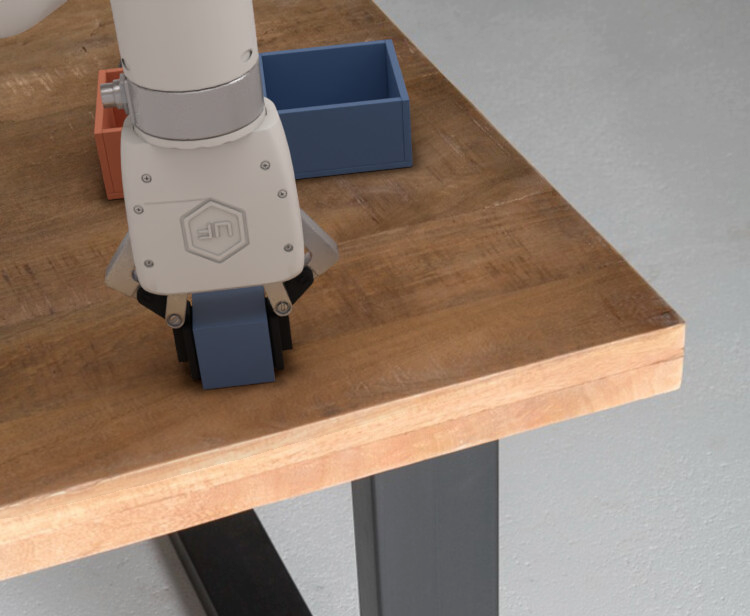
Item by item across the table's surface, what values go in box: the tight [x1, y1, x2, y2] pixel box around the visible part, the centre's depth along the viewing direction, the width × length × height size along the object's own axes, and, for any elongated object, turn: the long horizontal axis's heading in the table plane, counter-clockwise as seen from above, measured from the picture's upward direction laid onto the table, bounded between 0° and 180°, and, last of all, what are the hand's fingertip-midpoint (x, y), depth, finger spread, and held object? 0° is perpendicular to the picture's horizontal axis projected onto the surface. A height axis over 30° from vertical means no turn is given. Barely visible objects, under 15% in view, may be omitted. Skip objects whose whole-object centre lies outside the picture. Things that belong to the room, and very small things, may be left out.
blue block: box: [191, 285, 276, 391], centre depth 90 cm, size 5×5×5 cm
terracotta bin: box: [93, 67, 129, 201], centre depth 111 cm, size 11×11×6 cm
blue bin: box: [258, 38, 414, 180], centre depth 112 cm, size 11×11×6 cm
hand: (237, 360), depth 91 cm, fingers closed on blue block, 4 cm apart
